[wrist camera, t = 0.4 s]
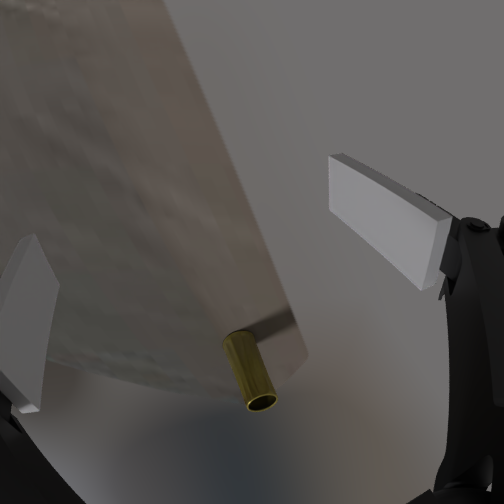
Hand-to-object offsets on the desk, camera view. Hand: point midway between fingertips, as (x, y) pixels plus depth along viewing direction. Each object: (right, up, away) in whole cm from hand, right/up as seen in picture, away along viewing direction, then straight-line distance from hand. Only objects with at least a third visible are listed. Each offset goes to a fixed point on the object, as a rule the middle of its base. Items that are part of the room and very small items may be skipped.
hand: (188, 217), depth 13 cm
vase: (0, -18, +46) cm, 49 cm away
